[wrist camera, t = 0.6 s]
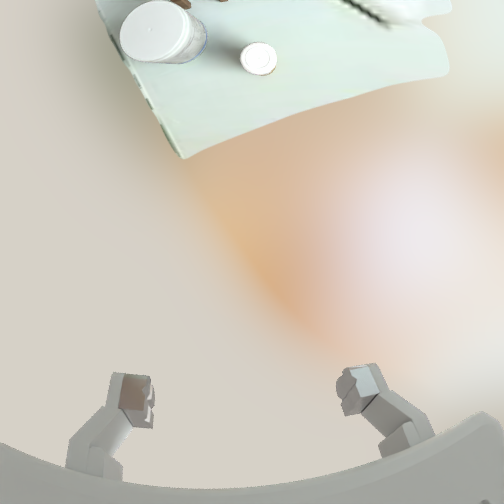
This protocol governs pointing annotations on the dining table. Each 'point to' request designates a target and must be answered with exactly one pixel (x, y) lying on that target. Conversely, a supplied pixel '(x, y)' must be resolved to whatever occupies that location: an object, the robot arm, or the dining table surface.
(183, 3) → the stool
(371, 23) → the dining table surface
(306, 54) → the dining table surface
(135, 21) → the supplement tub
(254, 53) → the sprinkles bottle
